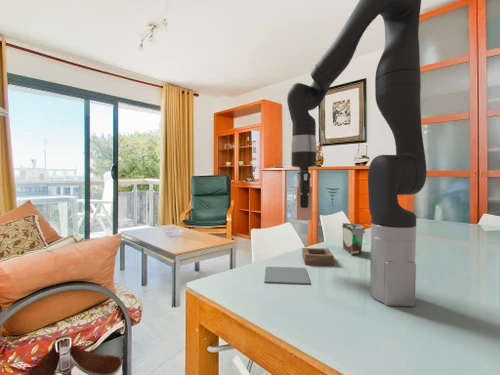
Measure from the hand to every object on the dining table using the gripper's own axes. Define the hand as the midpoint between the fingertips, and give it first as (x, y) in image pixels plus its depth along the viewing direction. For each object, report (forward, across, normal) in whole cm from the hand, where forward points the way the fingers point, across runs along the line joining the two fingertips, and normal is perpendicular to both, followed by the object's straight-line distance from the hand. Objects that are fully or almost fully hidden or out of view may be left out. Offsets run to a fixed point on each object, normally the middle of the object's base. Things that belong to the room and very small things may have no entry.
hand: (303, 206), depth 83 cm
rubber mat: (+19, -7, +5) cm, 21 cm away
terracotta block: (+4, 0, 0) cm, 4 cm away
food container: (+19, +20, -21) cm, 35 cm away
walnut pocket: (+19, +8, -5) cm, 21 cm away
